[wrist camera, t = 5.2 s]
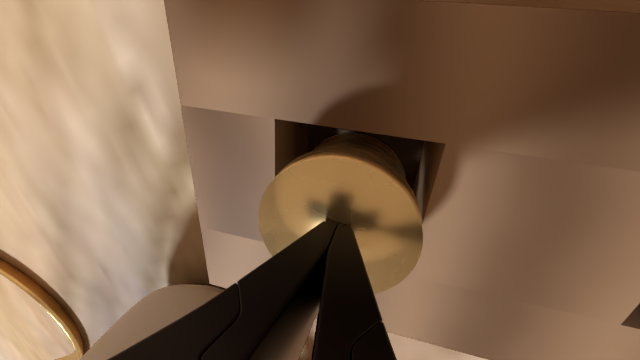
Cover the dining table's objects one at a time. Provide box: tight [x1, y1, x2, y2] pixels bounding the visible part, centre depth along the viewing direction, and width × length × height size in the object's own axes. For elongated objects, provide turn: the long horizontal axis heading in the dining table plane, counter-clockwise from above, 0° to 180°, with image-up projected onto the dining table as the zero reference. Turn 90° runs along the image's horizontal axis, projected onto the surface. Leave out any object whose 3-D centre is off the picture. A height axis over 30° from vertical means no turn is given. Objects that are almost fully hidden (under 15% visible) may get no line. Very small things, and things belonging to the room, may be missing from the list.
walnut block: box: [164, 0, 640, 360], centre depth 11 cm, size 24×12×4 cm, turn 85°
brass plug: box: [258, 133, 423, 294], centre depth 10 cm, size 5×5×3 cm
